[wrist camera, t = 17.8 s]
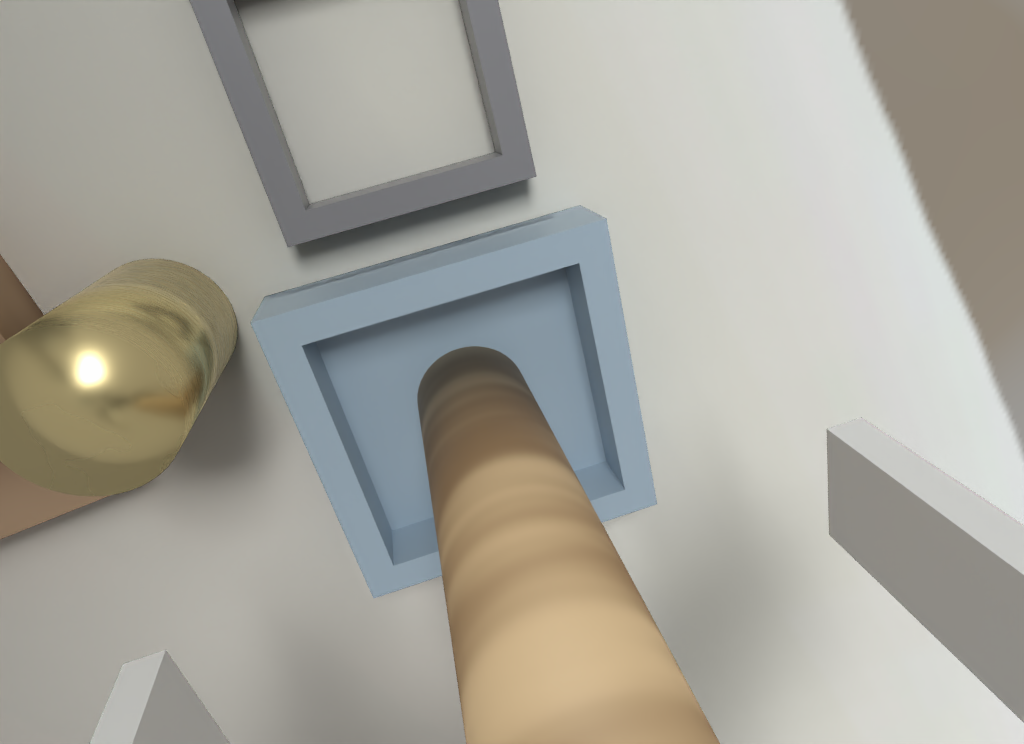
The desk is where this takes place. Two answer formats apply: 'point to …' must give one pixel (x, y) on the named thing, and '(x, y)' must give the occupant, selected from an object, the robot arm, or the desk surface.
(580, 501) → the dowel
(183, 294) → the cylinder
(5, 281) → the flat cardboard box
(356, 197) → the holder
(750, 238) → the desk surface
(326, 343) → the tray
